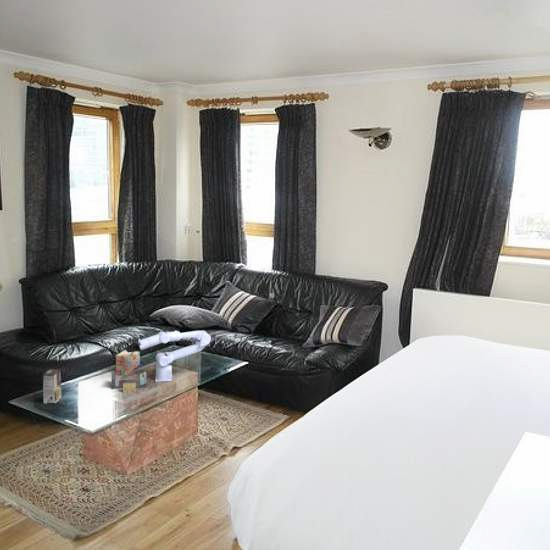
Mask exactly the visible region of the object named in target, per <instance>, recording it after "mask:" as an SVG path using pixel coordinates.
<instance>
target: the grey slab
mask: <svg viewBox="0 0 550 550" xmlns="http://www.w3.org/2000/svg"><path fill="white" fill-rule="evenodd" d="M123 383H136V389H139V388H140V389H141V388H145V389H146V388H148V379H147V378H146V384H144V385H140V378H138V379H120V374H116V372H115V373H112V374H111V390H117V389H122V390H123Z"/></svg>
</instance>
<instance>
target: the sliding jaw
mask: <svg viewBox="0 0 550 550" xmlns="http://www.w3.org/2000/svg"><path fill="white" fill-rule="evenodd" d="M139 379H140V385H144V384H146V379H147V371H143V373H139Z"/></svg>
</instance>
